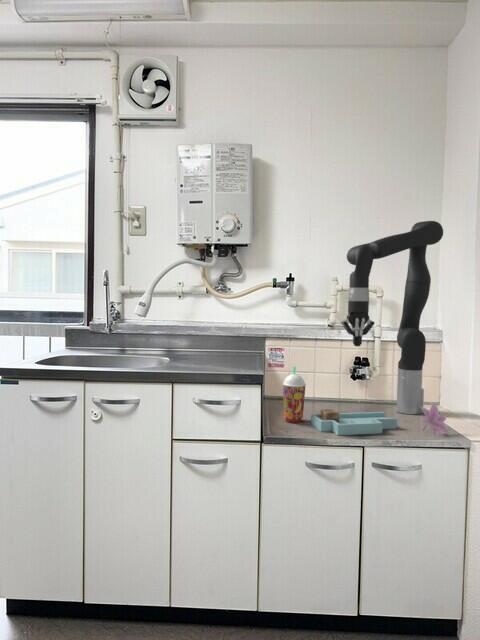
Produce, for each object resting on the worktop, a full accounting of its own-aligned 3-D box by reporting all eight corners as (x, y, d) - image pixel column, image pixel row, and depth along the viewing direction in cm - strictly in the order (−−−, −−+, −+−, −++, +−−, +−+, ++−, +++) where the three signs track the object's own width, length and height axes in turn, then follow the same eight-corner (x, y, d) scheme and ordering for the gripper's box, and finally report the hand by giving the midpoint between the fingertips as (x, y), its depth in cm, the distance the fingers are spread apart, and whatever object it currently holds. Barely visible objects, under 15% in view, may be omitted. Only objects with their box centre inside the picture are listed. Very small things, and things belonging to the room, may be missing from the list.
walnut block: (333, 419, 186) (333, 409, 186) (339, 422, 182) (339, 412, 181) (320, 419, 185) (320, 409, 185) (325, 423, 181) (325, 413, 180)
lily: (414, 439, 173) (428, 417, 169) (404, 417, 184) (418, 396, 180) (446, 449, 175) (461, 428, 171) (435, 427, 186) (448, 406, 182)
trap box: (383, 421, 193) (383, 411, 192) (404, 432, 178) (404, 422, 178) (310, 424, 187) (311, 414, 187) (326, 435, 172) (326, 425, 172)
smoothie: (278, 419, 193) (279, 365, 192) (298, 417, 196) (299, 364, 195) (287, 424, 185) (289, 368, 184) (308, 423, 188) (310, 367, 187)
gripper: (370, 299, 200) (369, 345, 201) (338, 299, 197) (336, 345, 198) (379, 300, 193) (378, 347, 194) (346, 300, 190) (344, 347, 191)
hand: (357, 346), depth 196 cm, fingers closed
